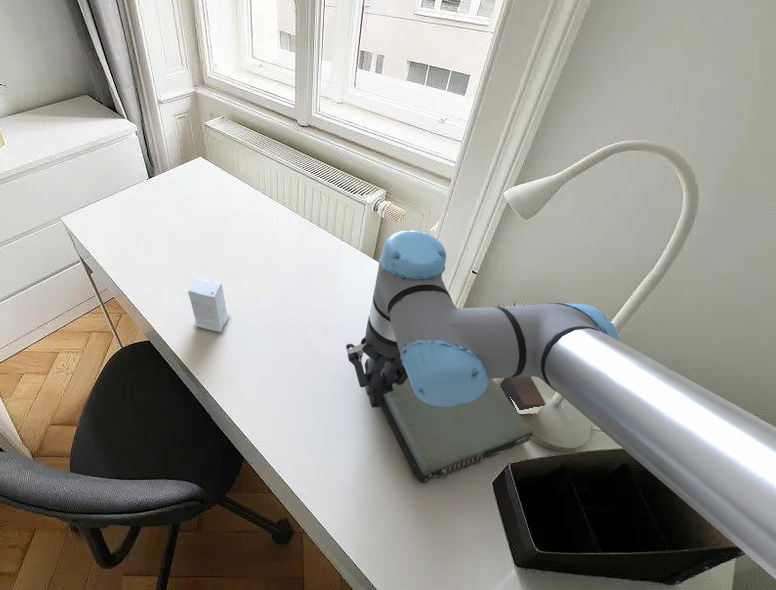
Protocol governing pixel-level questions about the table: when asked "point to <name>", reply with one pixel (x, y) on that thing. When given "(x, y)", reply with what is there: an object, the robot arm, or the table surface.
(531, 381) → the brown and white block
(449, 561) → the table surface
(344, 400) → the table surface
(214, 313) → the cosmetic box
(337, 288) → the table surface
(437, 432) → the network switch
